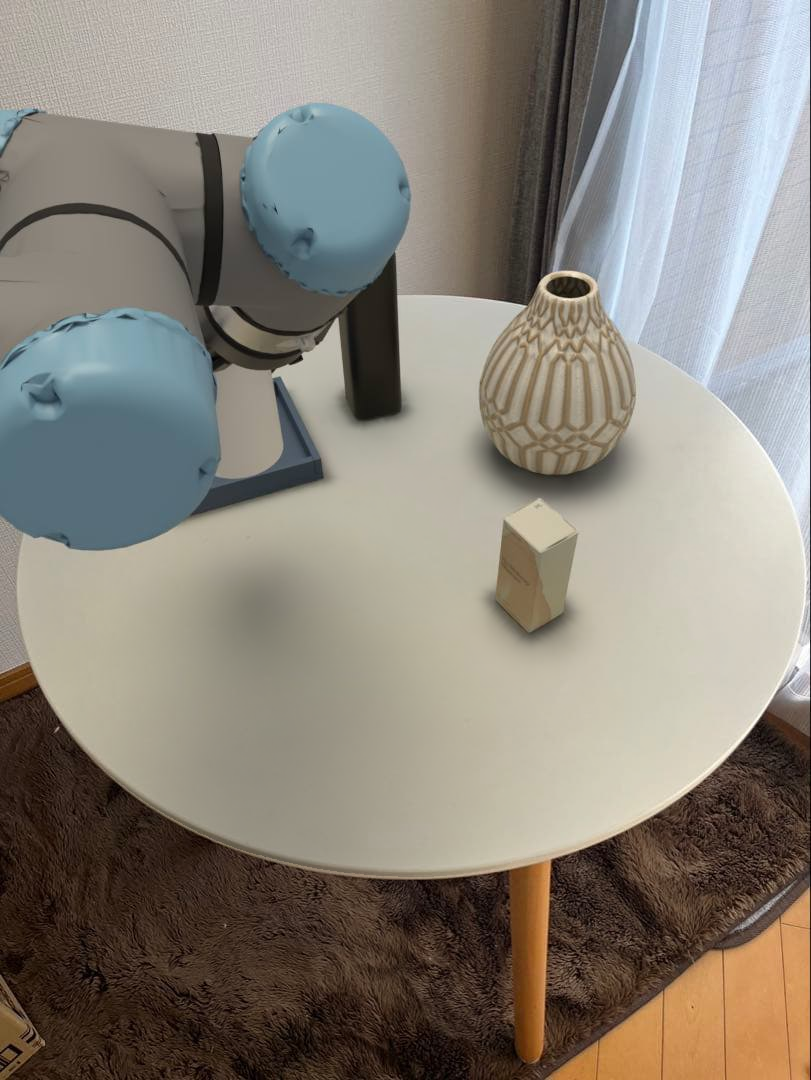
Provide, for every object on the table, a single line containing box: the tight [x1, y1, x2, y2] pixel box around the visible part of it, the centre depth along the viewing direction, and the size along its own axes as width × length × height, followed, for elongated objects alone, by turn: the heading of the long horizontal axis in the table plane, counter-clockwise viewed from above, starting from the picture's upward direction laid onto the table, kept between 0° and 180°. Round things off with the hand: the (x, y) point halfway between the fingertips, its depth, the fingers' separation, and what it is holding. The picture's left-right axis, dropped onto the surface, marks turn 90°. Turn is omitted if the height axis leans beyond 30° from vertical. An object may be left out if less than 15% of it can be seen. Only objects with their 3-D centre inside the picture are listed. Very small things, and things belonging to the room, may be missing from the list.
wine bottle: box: [337, 251, 403, 421], centre depth 93 cm, size 6×6×30 cm
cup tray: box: [189, 375, 325, 516], centre depth 98 cm, size 16×16×3 cm
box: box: [494, 497, 579, 633], centre depth 79 cm, size 5×4×11 cm
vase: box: [478, 270, 637, 476], centre depth 90 cm, size 16×16×20 cm
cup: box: [214, 364, 283, 479], centre depth 70 cm, size 7×7×14 cm
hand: (213, 380), depth 74 cm, fingers closed on cup, 7 cm apart
